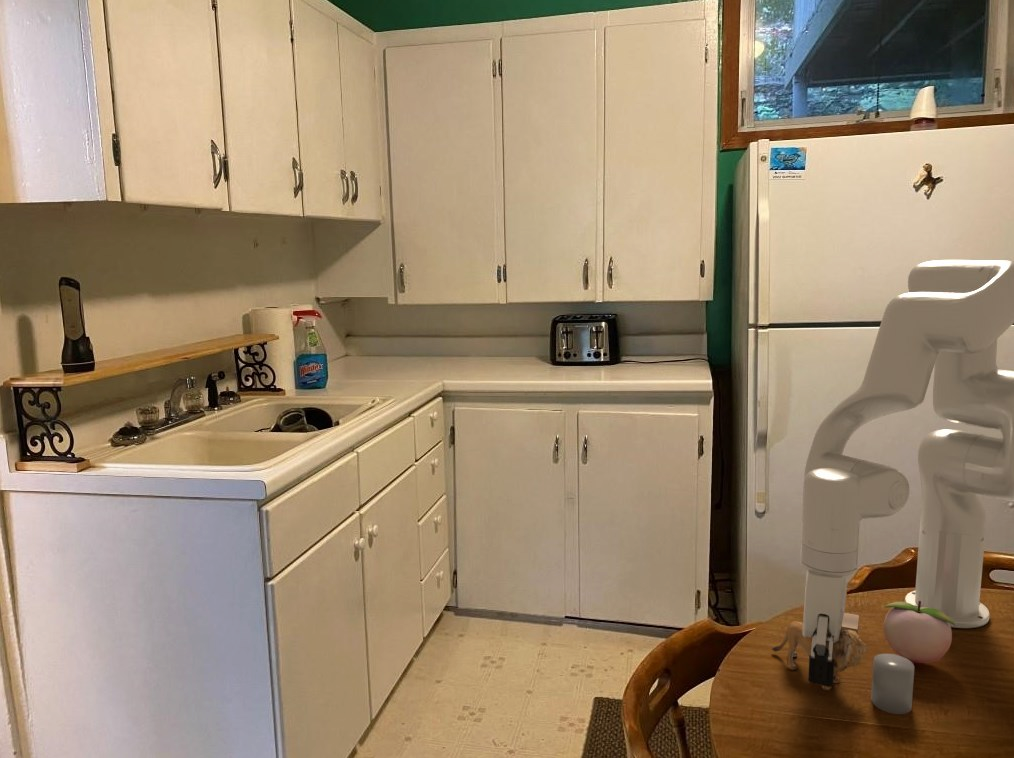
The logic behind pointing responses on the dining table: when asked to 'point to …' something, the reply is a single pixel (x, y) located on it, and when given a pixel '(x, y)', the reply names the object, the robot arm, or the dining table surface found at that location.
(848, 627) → the pale beige block
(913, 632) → the decorative fruit
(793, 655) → the lion figurine
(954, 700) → the dining table surface
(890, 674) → the light grey cylinder
